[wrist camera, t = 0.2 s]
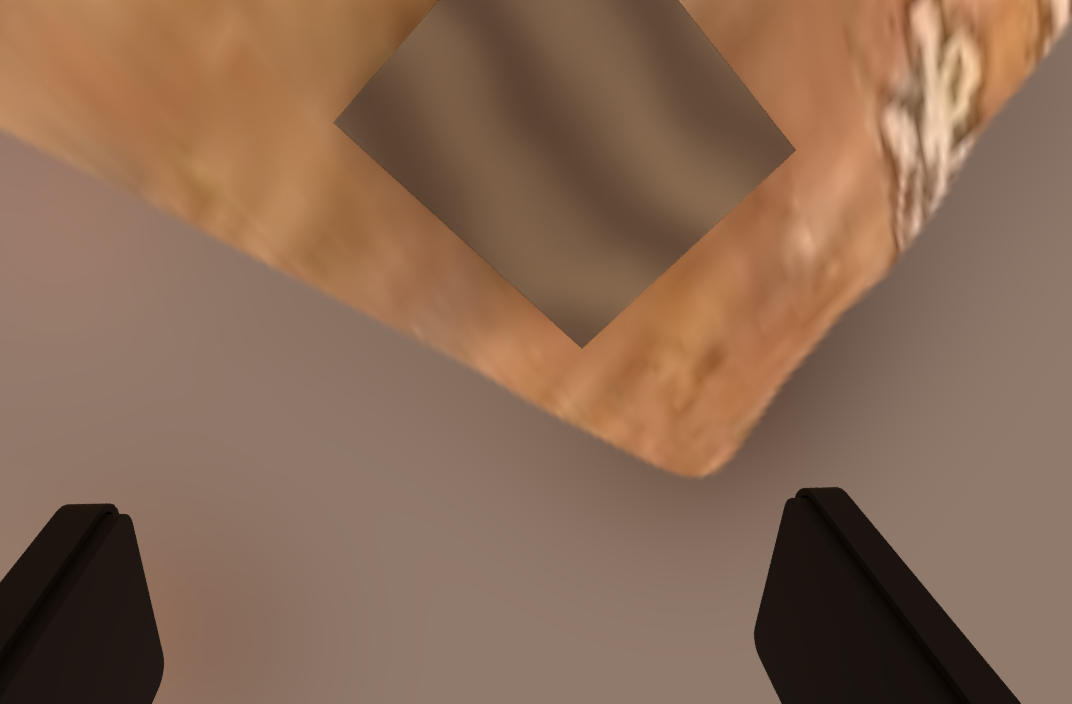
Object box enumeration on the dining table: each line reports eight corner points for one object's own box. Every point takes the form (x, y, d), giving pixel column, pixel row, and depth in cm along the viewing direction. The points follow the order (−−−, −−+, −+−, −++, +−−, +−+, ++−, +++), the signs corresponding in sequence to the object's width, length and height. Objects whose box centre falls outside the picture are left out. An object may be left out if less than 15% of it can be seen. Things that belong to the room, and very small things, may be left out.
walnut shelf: (545, -119, 33) (564, -145, 28) (748, 131, 39) (795, 150, 34) (350, 106, 36) (333, 122, 31) (565, 306, 42) (581, 348, 37)
